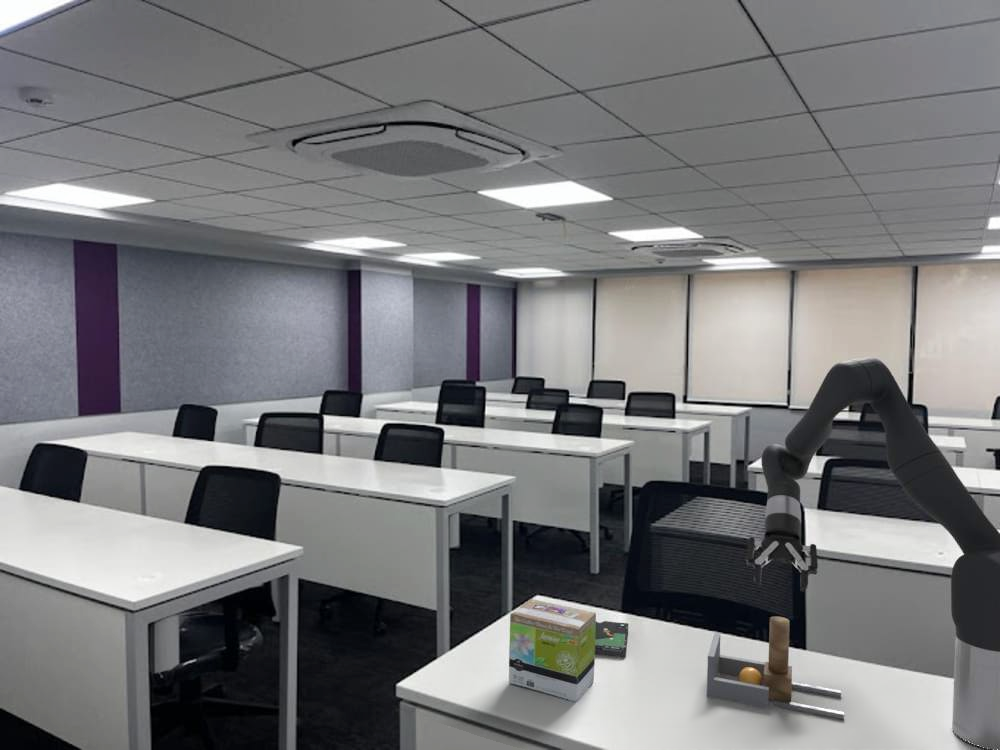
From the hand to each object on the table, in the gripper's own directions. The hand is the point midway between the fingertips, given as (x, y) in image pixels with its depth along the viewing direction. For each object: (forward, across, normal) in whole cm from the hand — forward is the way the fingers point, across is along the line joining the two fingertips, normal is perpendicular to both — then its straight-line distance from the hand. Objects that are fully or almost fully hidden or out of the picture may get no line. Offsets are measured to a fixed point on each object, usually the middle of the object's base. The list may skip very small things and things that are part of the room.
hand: (780, 586), depth 148 cm
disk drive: (+14, -37, +13) cm, 42 cm away
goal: (+21, -6, +5) cm, 22 cm away
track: (+21, +6, +5) cm, 22 cm away
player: (+21, 0, +5) cm, 21 cm away
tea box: (+31, -42, -5) cm, 52 cm away
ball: (+19, -5, +3) cm, 20 cm away
